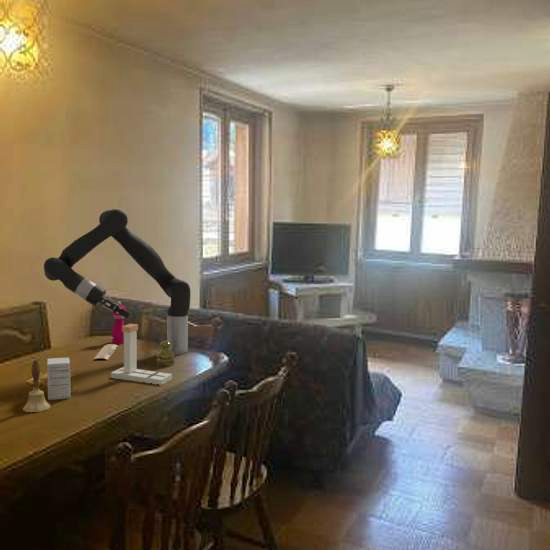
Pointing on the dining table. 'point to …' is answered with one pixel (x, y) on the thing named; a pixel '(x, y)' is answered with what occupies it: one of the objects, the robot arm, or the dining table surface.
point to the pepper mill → (118, 327)
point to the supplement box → (58, 378)
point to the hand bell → (36, 393)
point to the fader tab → (130, 347)
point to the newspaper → (106, 351)
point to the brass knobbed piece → (166, 355)
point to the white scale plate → (142, 376)
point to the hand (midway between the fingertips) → (128, 316)
